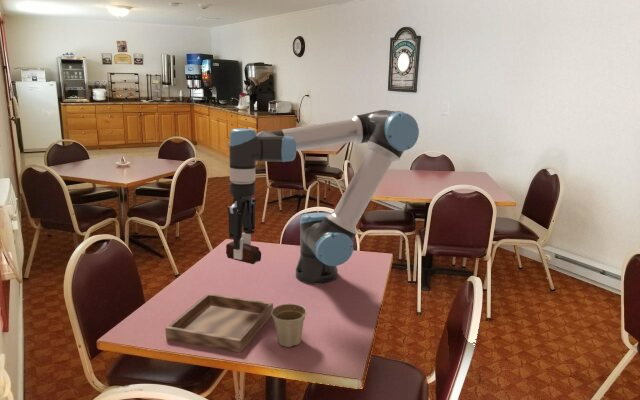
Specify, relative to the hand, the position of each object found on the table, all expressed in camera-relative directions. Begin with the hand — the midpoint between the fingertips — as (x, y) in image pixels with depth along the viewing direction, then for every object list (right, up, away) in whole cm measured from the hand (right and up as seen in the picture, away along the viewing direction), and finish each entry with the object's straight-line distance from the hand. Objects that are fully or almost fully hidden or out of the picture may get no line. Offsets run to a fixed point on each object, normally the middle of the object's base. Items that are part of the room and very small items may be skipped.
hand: (242, 255), depth 141 cm
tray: (-4, -19, -10) cm, 22 cm away
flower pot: (+16, -21, -18) cm, 32 cm away
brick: (0, -1, 0) cm, 1 cm away
